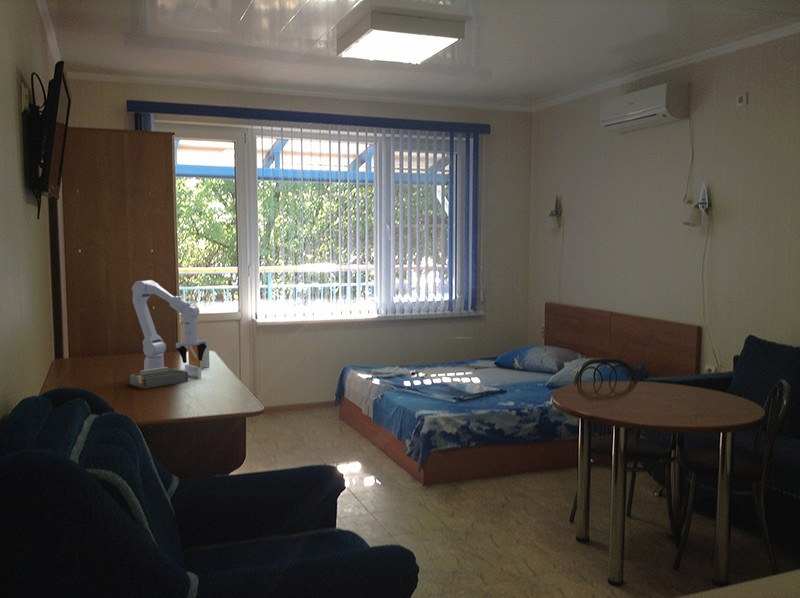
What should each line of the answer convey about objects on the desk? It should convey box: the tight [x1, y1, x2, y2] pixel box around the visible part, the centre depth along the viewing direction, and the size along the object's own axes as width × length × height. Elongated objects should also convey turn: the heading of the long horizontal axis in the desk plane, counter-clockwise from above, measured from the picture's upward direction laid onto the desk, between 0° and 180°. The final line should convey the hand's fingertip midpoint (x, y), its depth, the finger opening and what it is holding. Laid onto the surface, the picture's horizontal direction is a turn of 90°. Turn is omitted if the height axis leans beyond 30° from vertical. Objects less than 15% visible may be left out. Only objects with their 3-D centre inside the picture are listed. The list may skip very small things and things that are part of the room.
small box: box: [187, 340, 210, 369], centre depth 331 cm, size 8×6×13 cm
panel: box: [184, 363, 202, 379], centre depth 308 cm, size 12×2×5 cm, turn 45°
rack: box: [129, 366, 189, 389], centre depth 294 cm, size 14×20×6 cm, turn 135°
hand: (192, 361), depth 307 cm, fingers open, 7 cm apart
